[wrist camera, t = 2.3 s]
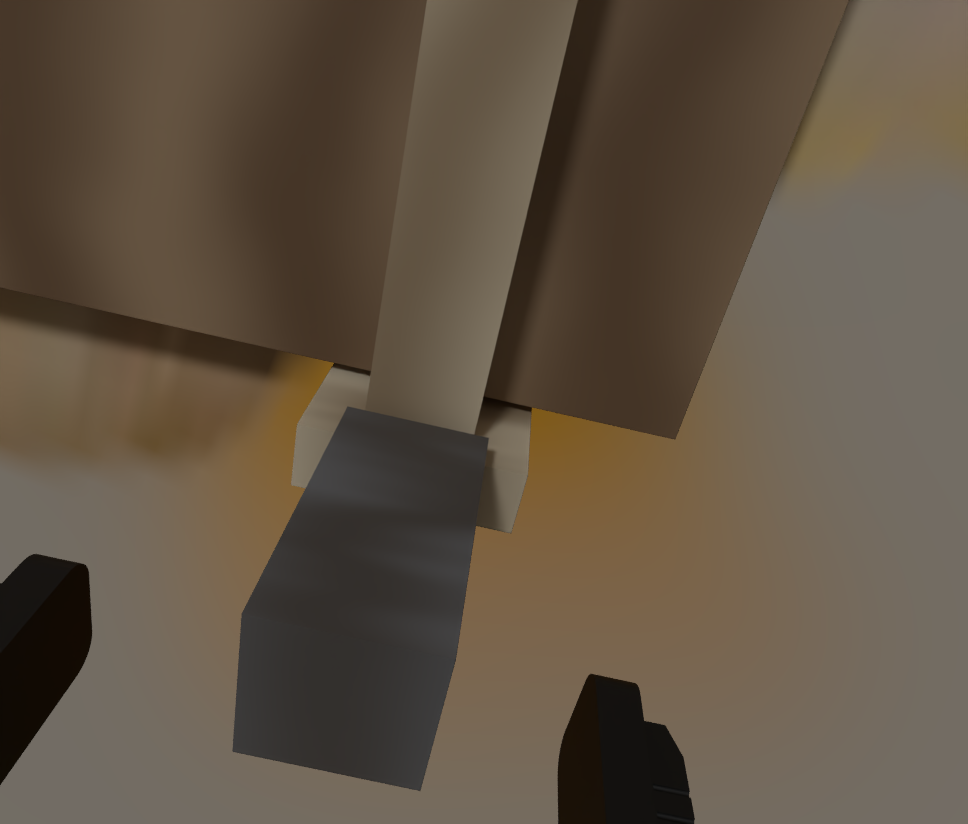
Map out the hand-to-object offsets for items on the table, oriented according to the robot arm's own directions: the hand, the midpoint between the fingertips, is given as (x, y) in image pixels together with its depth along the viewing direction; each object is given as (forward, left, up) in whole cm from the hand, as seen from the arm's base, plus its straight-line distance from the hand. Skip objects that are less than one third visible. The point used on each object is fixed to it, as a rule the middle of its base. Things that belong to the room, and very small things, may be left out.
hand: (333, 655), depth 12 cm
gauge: (0, -5, -9) cm, 10 cm away
